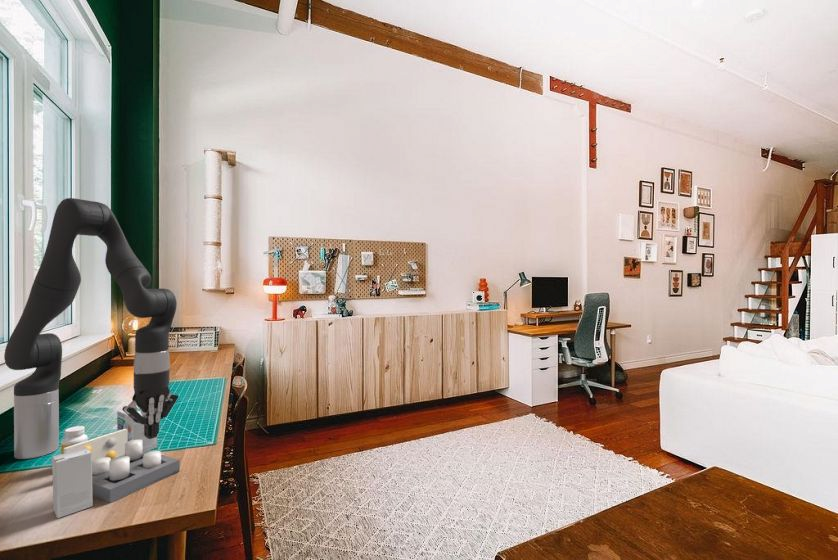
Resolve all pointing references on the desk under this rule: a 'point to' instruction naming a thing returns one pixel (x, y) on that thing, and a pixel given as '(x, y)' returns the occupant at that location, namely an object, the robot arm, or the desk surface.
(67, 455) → the skincare box
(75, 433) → the supplement bottle
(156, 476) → the button board
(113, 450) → the plaque
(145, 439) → the light bulb box
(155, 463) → the button
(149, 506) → the desk surface
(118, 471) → the button
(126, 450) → the button
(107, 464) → the button
